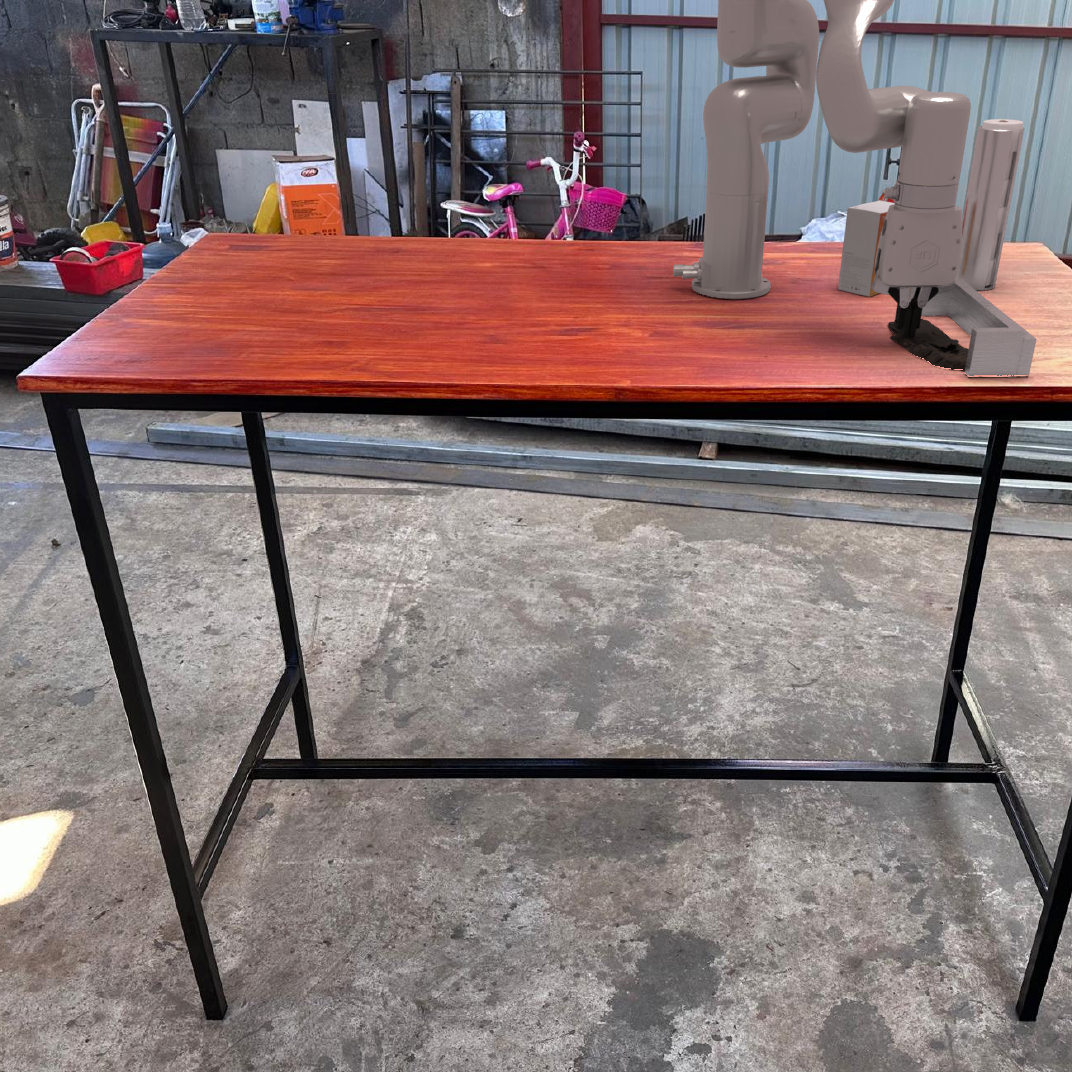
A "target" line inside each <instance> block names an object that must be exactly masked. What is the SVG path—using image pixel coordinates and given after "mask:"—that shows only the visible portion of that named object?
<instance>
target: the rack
mask: <svg viewBox="0 0 1072 1072" xmlns="http://www.w3.org/2000/svg"><path fill="white" fill-rule="evenodd" d="M914 290H915V287H909V302H911V299H912V296H913V293H914ZM926 316H927V317H928V316H930V317H931V316H932V317H934V316H936V317H937V316H939V317H942V316H944V317H945V316H948V317H949V318H951V320H953V321H954V322H955V323H956V324H957V325H958V326H959V327H960V328H961V329H962V330H963V331H965V333H966V334H968V335H969V336H970V339H969V344H968V345H969V346H968V349H969V350H968V355H967V361H966V366H965V371H964V372H965V373H966V374H967V375H969V376H974V375H997V376H999V375H1000V376H1002V375H1007V376H1008V375H1011V376H1012V375H1013V376H1014V375H1029V376H1030V373H1031V367H1032V362H1033V357H1034V353H1035V348H1036V343H1037V338H1036V337H1035V336H1034V335H1032V333H1030V332H1029V331H1027V330H1026V329H1024V328H1023V326H1022V325H1020V324H1018V323H1017V322H1016V321H1014V319H1013V318H1011V317H1010V316H1009V315H1008V314H1006V313H1005V312H1003V311H1002V310H1001V309H1000V308H999V307H997V305H995V304H993V303H992V302H991V301H990V300H988V299H987V298H986V297H984V295H982V294H981V293H980V292H979V291H976V290H974V289H973V288H972V287H971V286H969V285H968V284H967V283H966V282H964V281H963V280H962V279H957V280H956V282H955V283H954V289H953V290H952V291H948V292H944V293H939V294H937V295H935V296H934V297H933V298H932V299H931V300H930V301H928V302H927V305H926V306H925V307H923V308H922V315H921V317H926Z"/></svg>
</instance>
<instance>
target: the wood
mask: <svg viewBox="0 0 1072 1072" xmlns="http://www.w3.org/2000/svg"><path fill="white" fill-rule="evenodd" d="M887 326H888V328H889V330H890V331H891V332H892V334H894V335H891V336H889V339H890V341H892V342H895V343H897V344H898V345H899V346H901V348H903V349H904V348H905V349H904V350H905V351H908V352H910V353H909V354H911V353H912V354H911V355H913V354H914V355H915V356H914V355H913V356H914V357H916V356H918V357H917V358H920V357H921V358H920V360H922V358H924V359H925V360H926V361H925V360H924V361H925V362H927V361H929V362H930V363H931V364H932V365H935V366H940V367H944V368H951V369H963V370H965V366H966V361H967V355H968V350H969V347H968V348H967V347H964V346H962V345H961V344H960V343H959V342H960V341H959V340H958V339H955V338H954V339H953V338H951V337H950V336H949V335H948V334H946V333H945V332H944V331H943V330H942V329H940V328H939V327H938V326H936V325H935V324H933V323H932V322H931V321H929V320H927V319H924V318H921V321H920V327H919V329H916V333H915V336H914V337H910V336H909V335H908V336H907V337H902V336H901V334H900V333H899V332H898V331H897V329H896V328H895V320H894V321H889V322H888V323H887ZM931 364H930V365H931ZM932 365H931V366H932ZM935 366H934V367H935Z"/></svg>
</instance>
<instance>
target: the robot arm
mask: <svg viewBox="0 0 1072 1072" xmlns="http://www.w3.org/2000/svg"><path fill="white" fill-rule="evenodd" d="M894 1H895V0H823V2H824V8H825V11H826V16H827V28H826V31H825V33H824V35H823V38H822V41H821V44H820V26H819V21H818V16H817V14H816V11H815V9H814V7H813V5H812V4H811V3H810V2H809V0H717V25H716V26H717V28H716V42H717V52H718V55H719V57H720V59H721V61H722V62H723V63H724V64H725V65H727V66H730V67H734V68H740V69H741V68H743V69H744V68H745V69H746V68H755V67H756V68H758V67H765V68H766V69H765V74H766V75H763V76H762V75H758V76H748V77H747V76H745V77H738V78H734V79H733V78H732V79H729V80H726V81H723V82H722V83H721V82H720V84H718V85H717V86H715V87H714V88H713V89H712V91H710V93H709V94H708V96H707V98H706V100H705V103H704V106H703V112H702V113H703V116H702V118H703V128H704V136H705V145H706V146H705V147H706V156H707V157H706V159H707V160H706V166H707V168H706V184H705V185H706V187H705V190H706V195H705V211H704V212H705V213H704V232H703V233H704V234H703V252H702V257H700V256H699V258H698V262H697V261H696V262H693V263H692V264H685V263H684V264H683V263H681V264H680V263H679V264H673V266H672V272H673V275H672V276H673V277H682V278H681V279H683V280H685V279H686V280H687V279H689V280H690V279H692V281H691V289H692V290H693V291H694V290H695V291H696V292H695V291H694V292H695V293H697V292H698V293H697V294H699V293H700V294H699V295H701V294H702V296H704V295H707V296H706V297H709V296H710V297H709V298H714V297H716V299H723V298H724V299H725V300H726V299H728V300H740V299H741V300H743V299H753V298H758V297H761V296H764V295H766V294H768V293H770V291H771V286H772V284H771V281H770V280H769V279H768V278H766V277H763V275H762V273H763V263H764V261H763V260H764V250H765V249H764V248H765V237H766V227H767V226H766V224H767V211H768V202H769V201H768V200H769V187H770V185H769V184H770V183H769V182H770V173H769V166H768V163H767V160H766V157H765V155H764V152H763V149H762V144H765V143H767V144H768V143H773V142H781V141H786V140H791V139H793V138H796V137H797V136H800V134H801V133H802V132H804V131H805V129H806V128H807V126H808V125H809V122H810V120H811V117H812V114H813V109H814V101H815V92H816V91H817V95H818V96H817V97H818V99H819V104H820V108H821V112H822V115H823V119H824V122H825V126H826V129H827V131H828V133H829V135H830V138H831V139H832V141H833V143H834V144H835V145H836V146H837V147H838V148H839V149H841V150H843V151H844V152H848V153H854V154H857V153H867V152H872V151H873V152H874V151H879V150H887V149H895V148H899V147H901V153H900V158H899V159H900V160H899V169H898V175H897V180H895V184H894V186H891V187H886V188H884V189H885V198H891V199H893V201H894V202H895V203H894V205H890V206H889V209H888V211H887V214H886V217H885V221H884V224H883V228H882V231H881V235H880V239H879V244H878V249H877V254H876V260H875V268H874V273H875V278H874V281H873V283H872V286H871V287H872V289H873V290H874V291H875V292H878V293H879V294H883V295H888V296H890V297H891V298H892V299H893V301H895V302H896V309H895V310H896V311H895V318H894V321H895V328H896V329H897V331H898V332H899V333H900V334H901V336H902V337H907V336H908V335H909V336H910V337H914V336H915V333H916V329H919V327H920V321H921V319H922V316H921V315H922V308H923V307H925V306H926V305H927V302H928V301H930V300H931V299H932V298H933V297H934V296H935V295H937V294H939V293H944V292H948V291H952V290H953V289H954V283H955V282H956V280H957V278H958V273H959V267H960V258H961V245H962V221H963V210H962V207H960V206H958V205H957V204H956V203H957V197H958V190H959V184H960V179H961V172H962V166H963V160H964V155H965V148H966V141H967V135H968V129H969V123H970V117H971V111H972V110H971V109H972V104H971V100H970V98H969V97H968V96H967V95H966V94H962V93H960V92H954V91H953V92H952V91H948V92H947V91H929V90H927V89H923V88H921V87H917V86H911V85H898V86H897V85H896V86H884V87H883V86H882V87H876V88H868V86H867V80H866V76H865V73H864V67H863V64H862V63H863V61H862V46H863V41H864V38H865V36H866V33H867V31H868V29H869V27H870V26H871V24H872V23H873V22H874V21H876V20H877V19H879V18H880V17H882V16H883V15H884V14H885V13H886V12H888V10H890V8H892V6H893V4H894ZM819 45H820V48H819ZM909 287H915V290H914V293H913V296H912V299H911V302H909Z"/></svg>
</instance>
